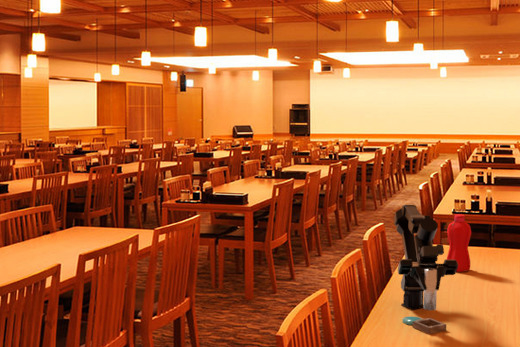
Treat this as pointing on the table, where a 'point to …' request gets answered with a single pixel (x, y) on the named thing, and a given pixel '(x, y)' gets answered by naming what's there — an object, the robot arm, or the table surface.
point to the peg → (430, 288)
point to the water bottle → (459, 242)
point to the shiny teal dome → (410, 320)
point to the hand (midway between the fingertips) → (431, 289)
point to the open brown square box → (424, 327)
